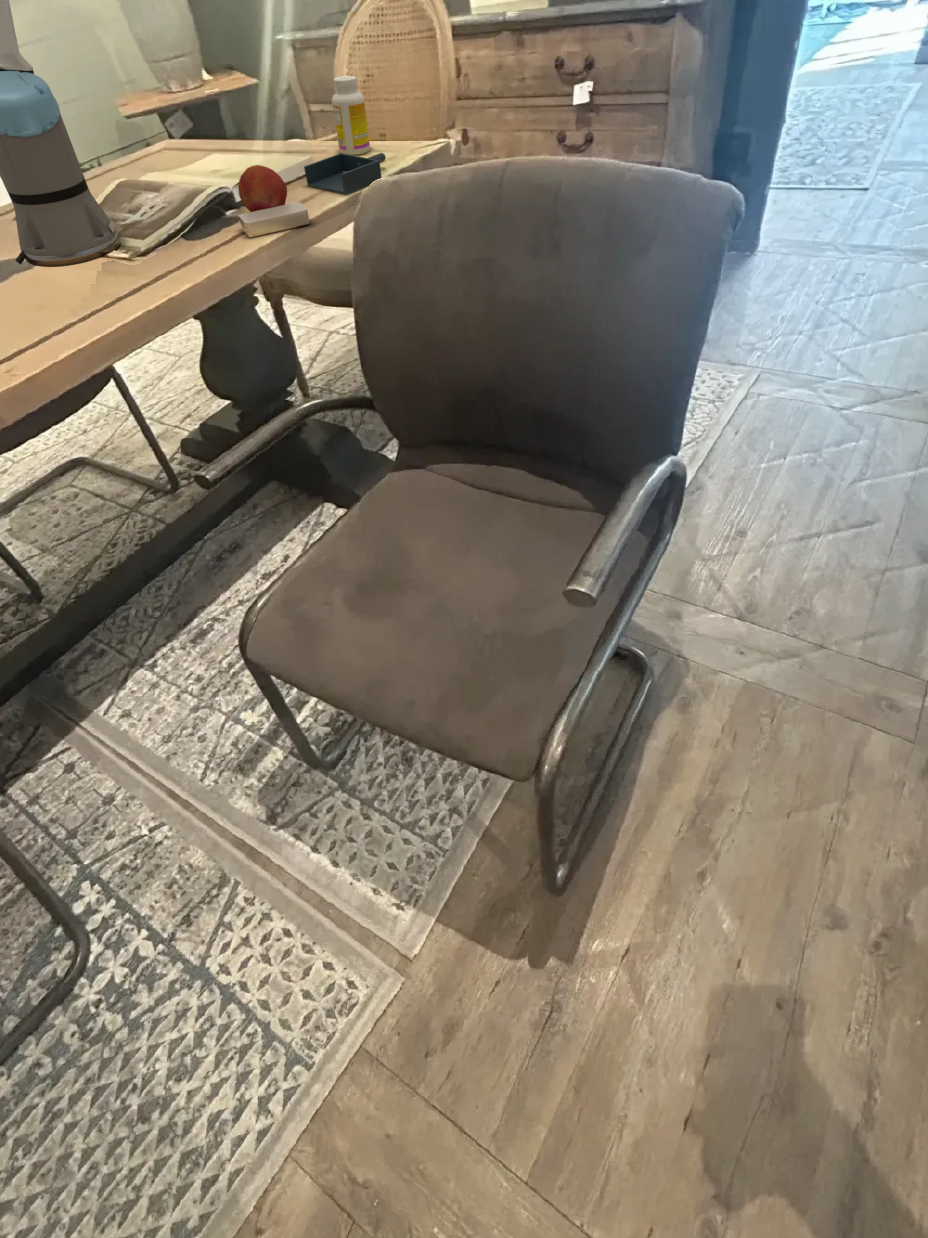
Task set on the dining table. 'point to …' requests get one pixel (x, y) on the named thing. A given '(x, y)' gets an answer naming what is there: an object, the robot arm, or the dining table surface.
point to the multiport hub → (274, 219)
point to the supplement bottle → (350, 116)
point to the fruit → (261, 188)
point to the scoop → (334, 178)
